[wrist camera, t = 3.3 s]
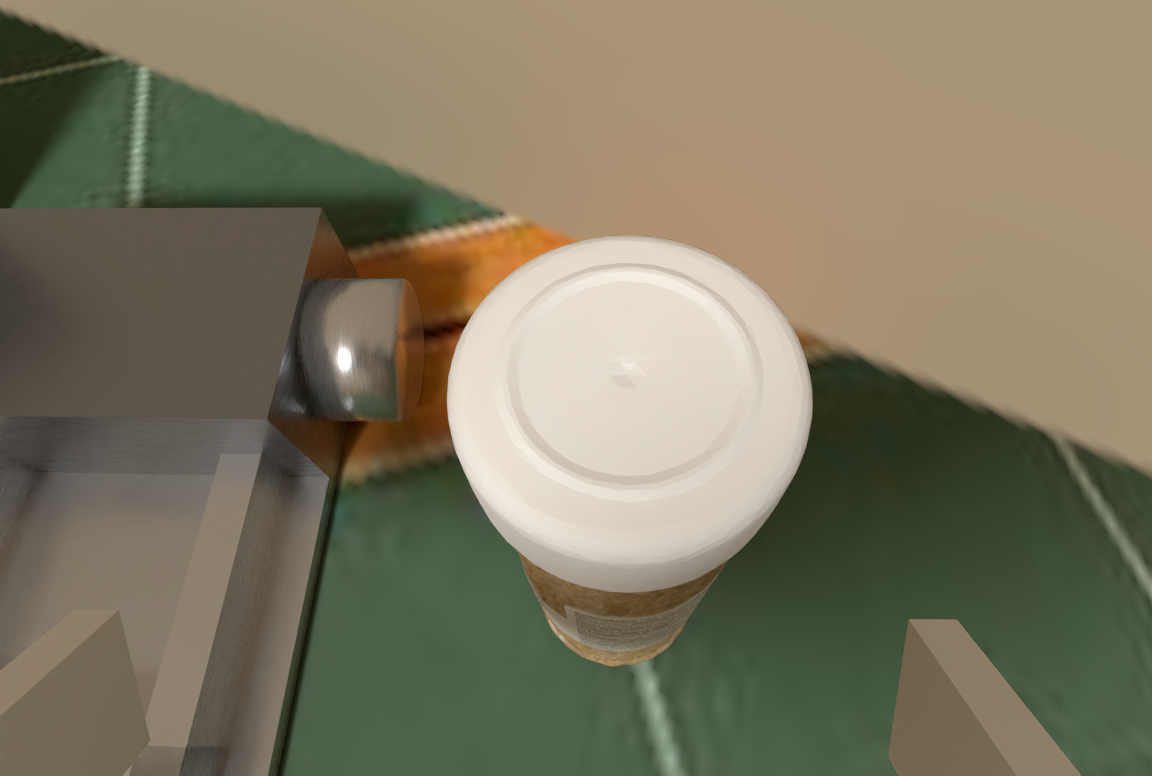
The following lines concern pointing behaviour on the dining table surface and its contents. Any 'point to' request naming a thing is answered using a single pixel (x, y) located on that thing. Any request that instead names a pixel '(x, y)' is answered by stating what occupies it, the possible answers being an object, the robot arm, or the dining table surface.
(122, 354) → the grey open drawer box
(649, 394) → the sprinkles bottle
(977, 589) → the dining table surface
